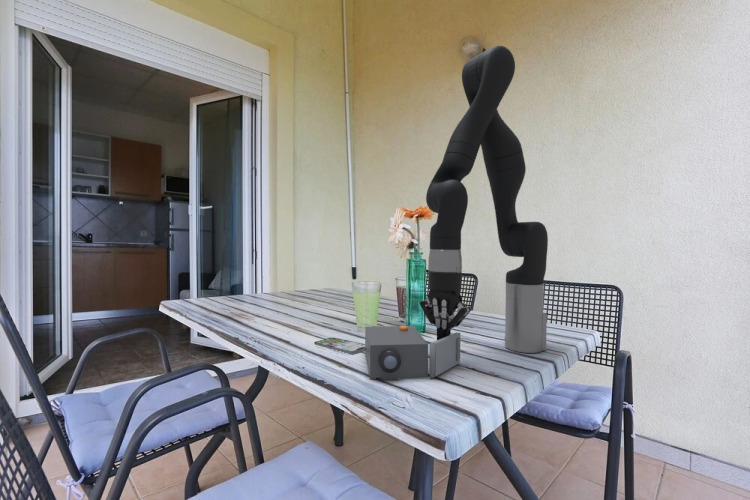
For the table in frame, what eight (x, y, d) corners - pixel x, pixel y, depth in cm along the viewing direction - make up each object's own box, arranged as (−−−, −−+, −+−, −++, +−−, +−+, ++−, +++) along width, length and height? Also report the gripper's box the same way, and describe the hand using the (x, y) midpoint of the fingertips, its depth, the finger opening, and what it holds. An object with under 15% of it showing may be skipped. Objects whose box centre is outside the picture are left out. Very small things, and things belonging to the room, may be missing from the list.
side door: (461, 362, 82) (462, 333, 82) (434, 378, 73) (434, 345, 73) (455, 361, 83) (456, 332, 83) (428, 376, 74) (428, 343, 74)
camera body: (413, 353, 90) (414, 322, 90) (430, 379, 73) (430, 341, 73) (365, 354, 89) (365, 323, 89) (370, 381, 72) (370, 343, 72)
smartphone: (332, 337, 104) (371, 345, 94) (332, 340, 104) (371, 349, 94) (312, 342, 99) (351, 351, 89) (312, 346, 99) (351, 356, 89)
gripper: (411, 268, 84) (410, 341, 85) (461, 272, 75) (459, 354, 75) (431, 266, 90) (429, 335, 90) (479, 270, 80) (477, 347, 81)
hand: (443, 344), depth 83 cm, fingers closed
